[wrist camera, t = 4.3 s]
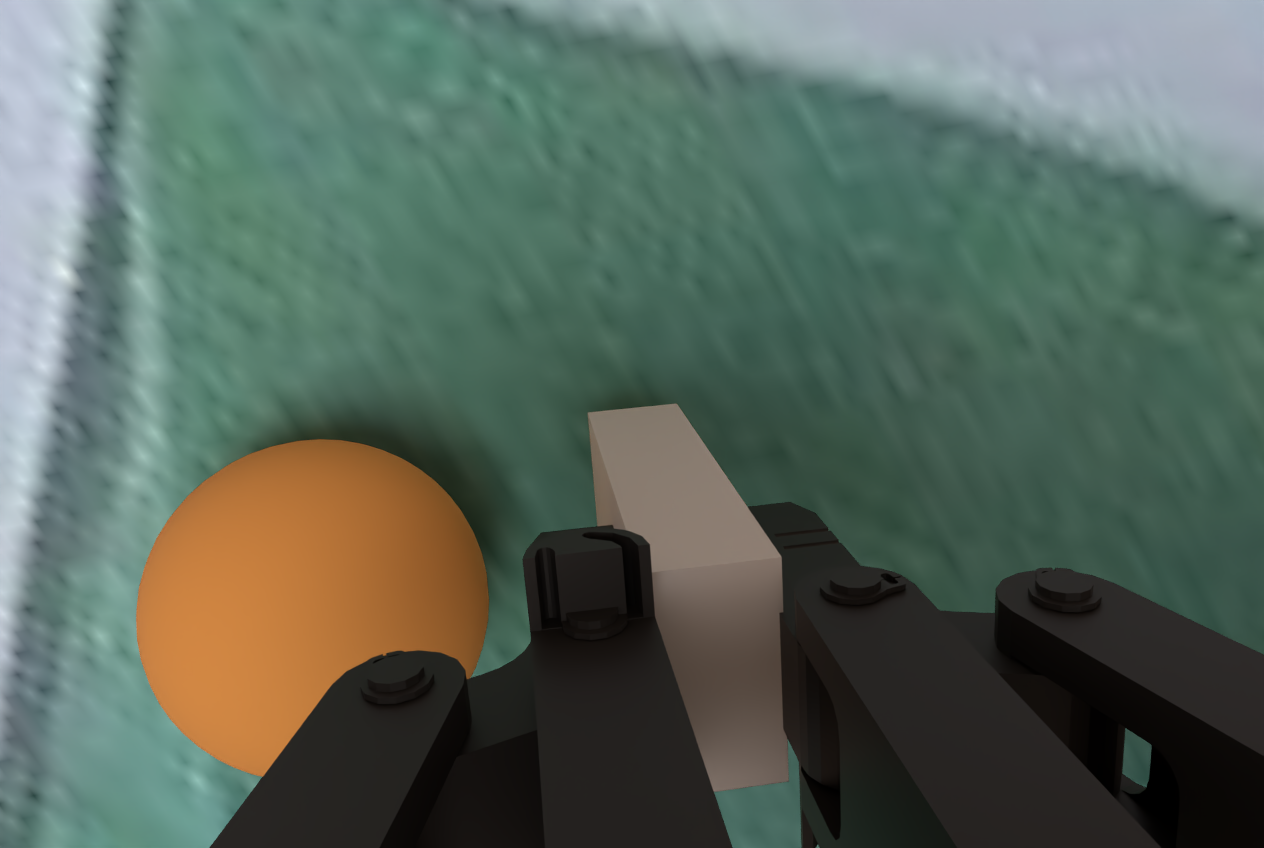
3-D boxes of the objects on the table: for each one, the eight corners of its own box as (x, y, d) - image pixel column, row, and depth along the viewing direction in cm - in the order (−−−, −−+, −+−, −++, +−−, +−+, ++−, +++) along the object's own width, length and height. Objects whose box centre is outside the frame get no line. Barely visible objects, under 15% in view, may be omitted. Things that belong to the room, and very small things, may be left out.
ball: (469, 388, 19) (449, 470, 14) (512, 653, 20) (509, 823, 15) (169, 429, 18) (27, 530, 13) (233, 698, 20) (128, 888, 14)
